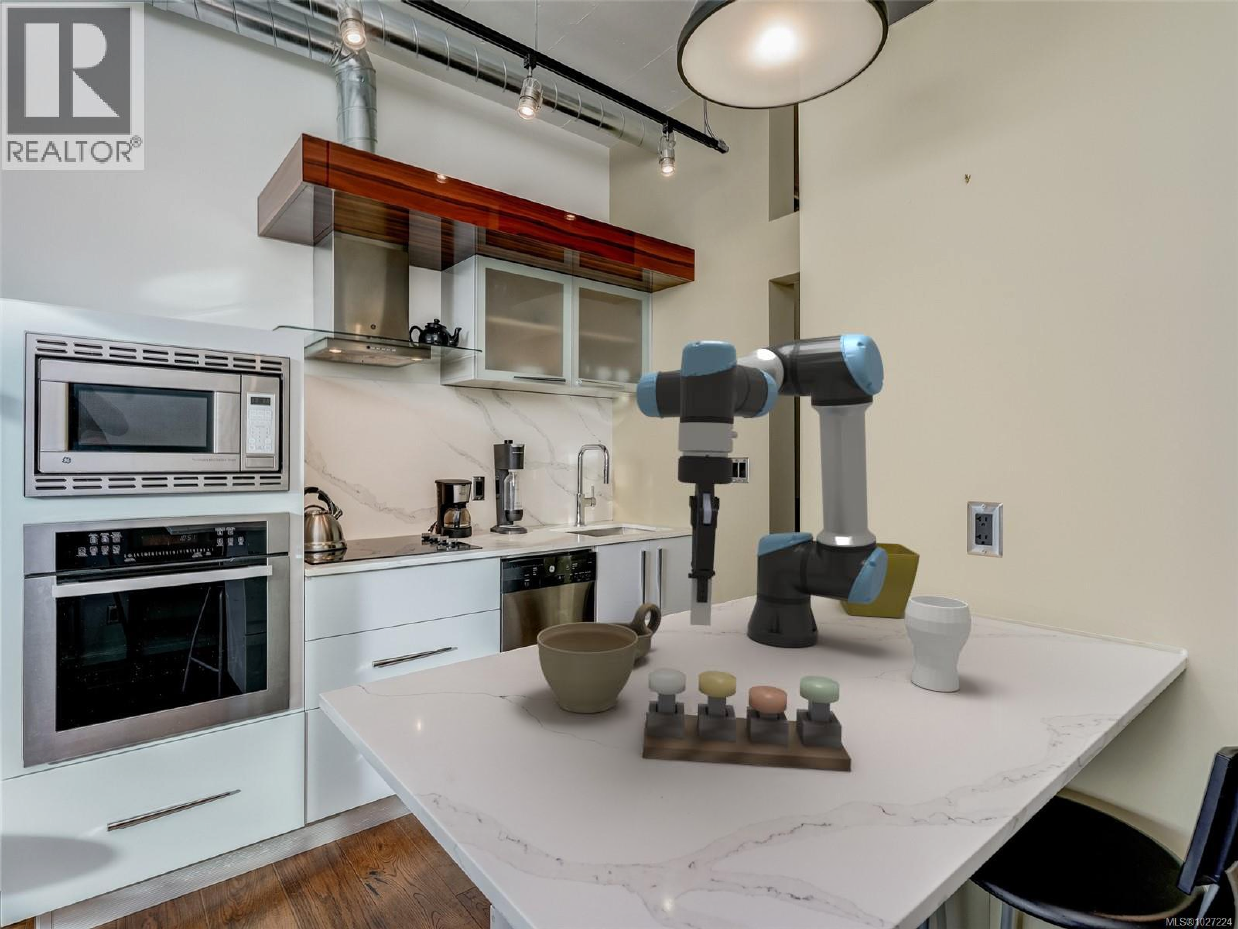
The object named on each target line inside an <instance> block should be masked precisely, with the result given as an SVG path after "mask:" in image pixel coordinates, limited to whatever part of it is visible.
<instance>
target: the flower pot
mask: <svg viewBox="0 0 1238 929" xmlns="http://www.w3.org/2000/svg"><path fill="white" fill-rule="evenodd" d="M876 547H881V548H882V549H884V550H885V551H886V555H887V570H886V575H885V580H884V583H883V586H882V589H881V591H880V593H879V595H878V597H877V598H876V599H875V600H874V601H873V602H872V603H869V604H862V603H849V602H846V601H841V600H839V601H840V605H841V606H842V608H843V609H844V610H845V612H846V613H847V614H848V615H850V616H861V617H879V618H894V619H895V618H901V617H902V615H903V613H905V610H906V606H907V603H908V599H909V598H910V597H911V595H912V594H911V593H912V591H913V587H914V583H915V580H916V576H917V572H918V567H919V563H920V562H919V561H920V554H919V553H917V552H916V551H913V550H912V549H910V548H908V547H906V546H905V545H903V544H900V543H889V542H888V543H887V542H885V543H884V542H876Z"/></svg>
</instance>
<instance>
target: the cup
mask: <svg viewBox="0 0 1238 929" xmlns="http://www.w3.org/2000/svg"><path fill="white" fill-rule="evenodd" d="M970 612H971V611H970V607H969V605H968V603H967V602H965V601H963V600H960V599H956V598H953V597H946V596H941V595H929V594H928V595H927V594H922V595H921V594H919V595H918V594H917V595H912V596H911V595H910V597H909V599H908V602H907V605H906V607H905V610H904V626H905V628H906V633H907V635H908V638H909V640H910V642H911V644H912V647H913V653H914V654H913V655H914V663H913V669H912V672H911V677H910V678H911V679H910V680H911V682H912V683H913V684H914V685H916V686H918V687H920V688H922V689H923V688H924V689H927V690H931V691H935V692H943V693H945V692H946V693H949V692H955V691H959V690H960V680H959V673H958V662H959V659H960V658H959V656H960V653H961V652H962V650H963V648H964V647H966V644H967V642H968V639H969V638H970V634H971V630H972V617H971V613H970Z"/></svg>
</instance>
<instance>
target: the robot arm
mask: <svg viewBox="0 0 1238 929" xmlns="http://www.w3.org/2000/svg"><path fill="white" fill-rule="evenodd" d="M680 364H681V365H680V369H677V370H669V371H668V370H667V371H662V370H660V371H656V372H649V373H646V374H644V375H643V376H641V377H640V379H639V381H638V382H637V385H636V389H635V395H636V404H637V407H638V409H639V411H640V412H641V413H642V414H643V415H644V416H646V417H648V418H660V419H666V418H679V422H678V439H677V440H678V441H677V442H678V443H677V444H678V445H677V446H678V447H677V450H678V452H680V453H681V452H682V454H681V455H679V457H678V459H677V480H678V482H680V483H682V484H683V483H684V484H694V495H689V497H688V505H689V508H690V517H689V518H690V520H689V521H690V526H691V562H690V566H691V570H690V571H691V572H688V574H687V578H688V579H691V586H690V588H691V589H690V618H689V620H690V621H689V622H690V626H710V627H711V622H712V621H711V619H712V618H711V617H712V615H711V614H712V592H713V591H712V589H713V585H712V584H713V579H712V578H714V577H715V576H716V571H715V570H714V569H715V568H714V566H715V564H714V563H715V553H716V552H715V548H716V530H717V529H718V515H719V510H720V503H721V502H720V500H721V499H720V497H718V496H715V495H716V494H715V492H716V490H715V485H729V484H731V483H732V482H733V470H734V468H733V466H734V463H733V462H734V460H733V459H732V457H729V454H732V453H733V450H734V441H733V439H737V438H738V436H739V433H738V431H734V430H733V429H734V423H735V421H734V420H735V417H738V418H739V417H740V418H741V417H742V419H755V418H760V417H764V416H766V415H767V414H769V413H770V412H771V411H772V409H773V408H774V407H775V406H776V403H777V401H778V397H779V396H780V397H781V396H782V397H796V398H797V397H810V405H811V408H812V409H813V410H815V412H817V413H818V415H819V438H820V442H819V443H820V467H821V468H820V469H821V473H820V474H821V493H822V494H821V496H822V500H821V501H822V523H823V524H822V525H823V527H822V530H820V531H819V532H818V533H817V535H816V537H814V536H813V533H812V532H802V531H801V532H799V531H797V532H796V531H795V532H781V533H771V534H766V535H764V536H761V538H759V540H758V544H757V545H758V546H757V554H756V559H757V560H756V561H757V562H756V563H757V564H756V565H757V566H756V567H757V568H756V569H757V570H756V601H755V603H754V607H753V609H752V611H751V615H750V617H749V620H748V622H747V633H746V634H747V636H748V638H750V639H751V640H753V641H756V642H757V643H760V644H764V645H769V646H773V647H774V646H775V647H782V648H804V647H810V646H814V645H816V644H817V643H818V642H819V630H818V629H819V628H818V626H817V623H816V619H815V615H814V613H813V609H812V602H811V601H812V596H813V597H820V598H826V599H831V600H836V601H840V600H841V601H846V602H849V603H862V604H869V603H872V602H873V601H874V600H875V599H876V598H877V597H878V595H879V593H880V591H881V589H882V586H883V583H884V580H885V575H886V570H887V555H886V551H885V550H884V549H882V548H881V547H876V543H877V536H876V535H875V534H874V533H873V532H871V530H870V529H869V528H868V527H869V526H868V524H869V523H868V521H869V520H868V482H867V481H868V480H867V478H868V477H867V446H866V445H867V444H866V441H867V440H866V411H867V410H868V409H869V408H870V407H871V406H872V405H873V403H874V396H875V395H877V394H879V393H880V392H881V391H882V389H883V385H884V382H883V380H884V378H885V377H884V373H885V372H884V364H883V360H882V355H881V352H880V349H879V347H878V345H877V344H876V342H875V340H874V339H873V338H872V337H871V336H870V335H867V334H864V333H863V334H861V333H859V334H858V333H857V334H855V333H854V334H849V333H848V334H847V333H845V334H841V335H840V334H839V335H832V336H829V335H828V336H822V337H819V336H818V337H811V338H800V339H791V340H788V341H784V342H780V343H777V344H774V345H773V344H772V345H770V346H767V347H763V348H760V349H759V348H758V349H754V350H753V351H750V352H749V353H748V354H747V355H745V356H743V357H739V358H737V350H736V348H735V346H734V344H732V343H730V342H726V341H722V340H721V341H720V340H719V341H717V340H700V341H693V342H689V343H687V344H686V345H684V347H683V349H682V354H681V363H680ZM815 538H816V539H815ZM814 539H815V540H814Z"/></svg>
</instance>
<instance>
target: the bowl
mask: <svg viewBox="0 0 1238 929" xmlns="http://www.w3.org/2000/svg"><path fill="white" fill-rule="evenodd" d="M648 613H650V617H649V620H648V622H647V624H646V616H647V614H648ZM661 622H662V610H661V609H660V607H659V606H658V605H656V604H655V603H652V602H646V603H643V604H641V605H640V606H639V607H638V608H637V610H636V611H635V614H634V617H633V619H632V621H631V622H608V623H609V624H614V625H619V626H623V627H626V628H628V629H631V630H632V631H634V632H635V633H636V634H637V636H638V643H637V646H636V655H635V660H637V659H639V658H642V657H644V656H645V655H647V654H648V653H649V652H650V649H651V646H652V638H653V637H654V635H655V633H656V632H657V631H658V630H659V627H660V626H661Z"/></svg>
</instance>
